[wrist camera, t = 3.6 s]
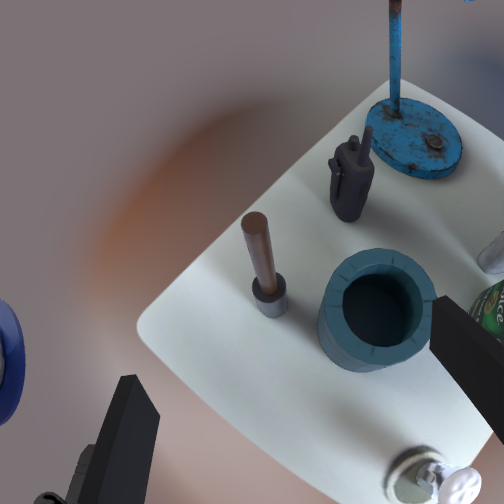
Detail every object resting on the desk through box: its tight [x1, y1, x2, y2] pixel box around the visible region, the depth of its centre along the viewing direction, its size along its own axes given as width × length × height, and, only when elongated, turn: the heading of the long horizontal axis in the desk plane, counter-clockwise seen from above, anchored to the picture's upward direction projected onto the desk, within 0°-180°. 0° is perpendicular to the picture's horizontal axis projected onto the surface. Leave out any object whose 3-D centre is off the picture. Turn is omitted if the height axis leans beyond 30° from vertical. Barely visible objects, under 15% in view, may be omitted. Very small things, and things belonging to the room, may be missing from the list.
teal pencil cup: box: [317, 248, 437, 372], centre depth 29 cm, size 10×10×9 cm
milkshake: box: [416, 462, 481, 504], centre depth 21 cm, size 4×5×10 cm
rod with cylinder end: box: [241, 212, 288, 318], centre depth 28 cm, size 3×3×18 cm
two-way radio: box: [328, 125, 374, 222], centre depth 33 cm, size 6×4×15 cm
